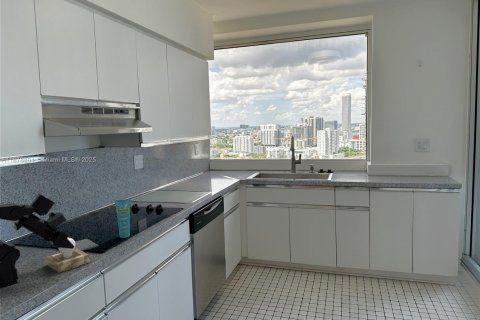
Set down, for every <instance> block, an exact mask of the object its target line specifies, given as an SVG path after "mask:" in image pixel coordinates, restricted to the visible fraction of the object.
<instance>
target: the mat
mask: <svg viewBox="0 0 480 320" xmlns="http://www.w3.org/2000/svg"><path fill="white" fill-rule="evenodd" d="M74 241H75V240H74ZM98 247H99V244H97V243H95V242H93V241H92V240H90V239H88V238H84V239H81V240H76V241H75V249H76V248H77V249H79V250H81V251H83V252H84V251H87V250H90V249H95V248H98Z"/></svg>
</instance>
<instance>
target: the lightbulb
mask: <svg viewBox="0 0 480 320" xmlns="http://www.w3.org/2000/svg"><path fill="white" fill-rule="evenodd" d="M68 240H69V241H70V242H71V243H72V244H73V245H74V248H73V249H69V248H57V249H58V251H59V253H62V254H63V257H64V260H67V259H70V258H72V252H73V250H74V249H75V240H74V239H73V238H71V237H68Z"/></svg>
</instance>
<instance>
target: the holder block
mask: <svg viewBox="0 0 480 320" xmlns="http://www.w3.org/2000/svg"><path fill="white" fill-rule="evenodd" d="M88 262H89V263H90V254H88V253H86V252H84V251H81V250H79V249H77V248H76V249H74V250H73V252H72V258H70V259H67V260H64V257H63V254H62V253H61V252H59V253H54V254H52V255H47V256H46V265H47V266H48V267H50V268H51V269H53V270H54V271H55V272H57V273H58V274H59V273H63V272H66V271H68V269H69V270H72V269H74V268H73V267H75V268H77V267H76V266H78V267H80V266H79V265H82V264H85V263H88ZM89 263H88V264H89ZM85 265H86V264H85ZM82 266H83V265H82ZM71 268H72V269H71ZM65 270H66V271H65ZM62 271H63V272H62Z"/></svg>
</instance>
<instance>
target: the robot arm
mask: <svg viewBox="0 0 480 320" xmlns="http://www.w3.org/2000/svg"><path fill="white" fill-rule="evenodd" d="M55 204H56V203H55V202H54V201H53V200H52V199H50V198H48V197H46V196H44V195H42V194H40V193H39V194H37V195H36V198H35V199H34V200H33V201H32V202H31V203H30V205H29V204H18V203H15V202H10V203H9V202H7V203H2V204H0V220H5V221H12V222H13V229H14V230H16V231H20V229H21V228H24V229H25V230H27V231H29V232H31V233H32V234H34V235H35V236H36V237H38V238H39V239H41V240H42V241H44V242H49V244H50V245H51V246H54V248H56V249H58V248H69V249H73V248H74V245H73V244H72V243H71V242H70V241H69V240H68V238H69V232H67V231H65V230H63V229H59V228H58V227H59V226H60V225H61V224H63V223H65V222H66V221H67V218H66V216H65V215H64V214H63V213H62V212H50V210H51V209H52V208H53V207H54V206H55ZM34 213H35V214H34ZM47 214H48V218H47V219H46V220H45V219H42V218H41V217H42V216H43V217H44V216H46V215H47ZM20 257H21V251H20V250H19V249H18V247H16V245H15V244H14V243H12V242H11V241H4V240H2V239H0V288H5V287H7V286H11V285H14V284H17V283H18V279H19V277H18V276H19V274H18V269H17V267H16V263H17V261H18V260H19V259H20Z"/></svg>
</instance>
